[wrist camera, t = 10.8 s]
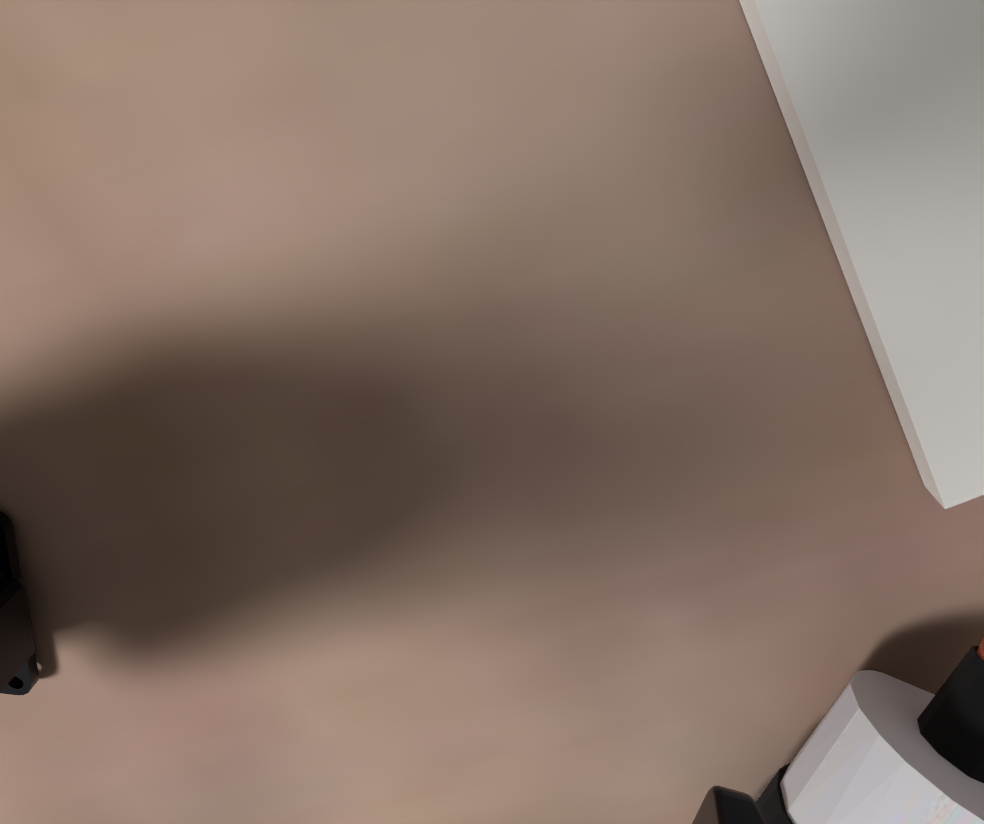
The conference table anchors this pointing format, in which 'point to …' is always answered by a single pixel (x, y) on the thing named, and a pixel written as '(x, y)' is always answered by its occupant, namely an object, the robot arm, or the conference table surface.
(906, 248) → the white board with blocks
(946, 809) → the cable
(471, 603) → the conference table surface
